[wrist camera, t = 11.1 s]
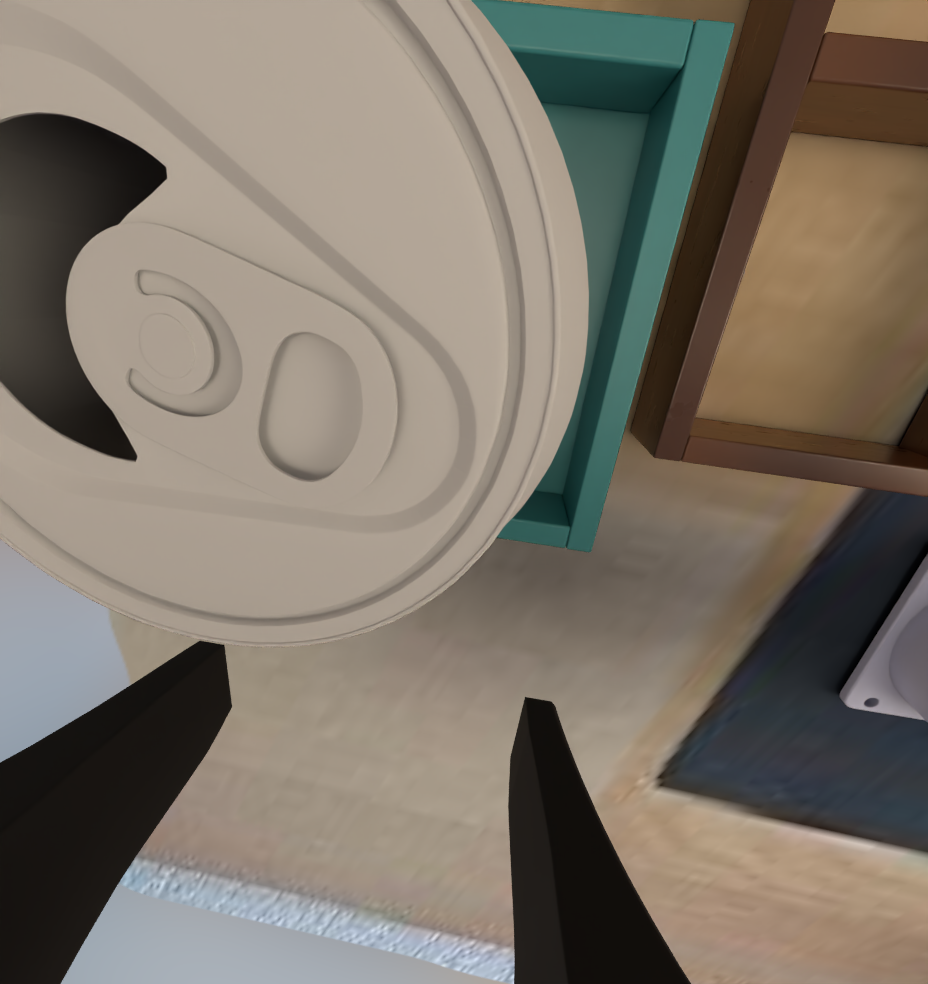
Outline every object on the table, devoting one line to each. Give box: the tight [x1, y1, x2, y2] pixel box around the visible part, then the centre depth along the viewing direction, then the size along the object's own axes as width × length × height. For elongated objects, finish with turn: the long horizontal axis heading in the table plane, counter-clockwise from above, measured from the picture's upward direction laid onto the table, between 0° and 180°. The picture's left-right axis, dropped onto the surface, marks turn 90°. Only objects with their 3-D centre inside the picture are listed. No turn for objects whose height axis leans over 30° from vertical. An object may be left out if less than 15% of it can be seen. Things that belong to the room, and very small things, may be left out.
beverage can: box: [0, 0, 589, 647], centre depth 9 cm, size 6×6×12 cm
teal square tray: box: [471, 0, 735, 552], centre depth 13 cm, size 12×13×3 cm
